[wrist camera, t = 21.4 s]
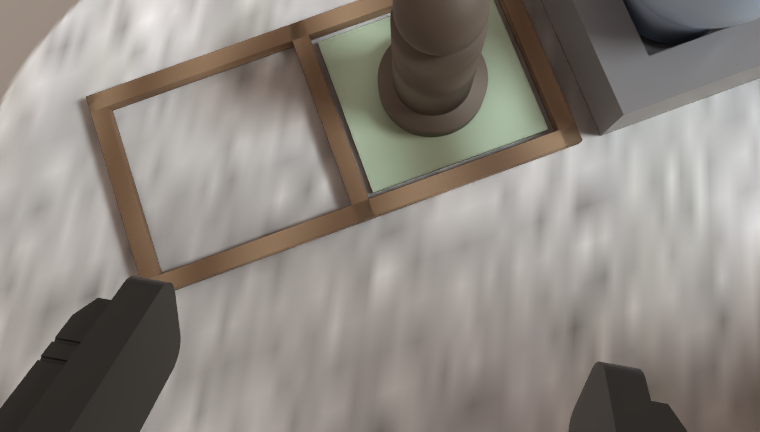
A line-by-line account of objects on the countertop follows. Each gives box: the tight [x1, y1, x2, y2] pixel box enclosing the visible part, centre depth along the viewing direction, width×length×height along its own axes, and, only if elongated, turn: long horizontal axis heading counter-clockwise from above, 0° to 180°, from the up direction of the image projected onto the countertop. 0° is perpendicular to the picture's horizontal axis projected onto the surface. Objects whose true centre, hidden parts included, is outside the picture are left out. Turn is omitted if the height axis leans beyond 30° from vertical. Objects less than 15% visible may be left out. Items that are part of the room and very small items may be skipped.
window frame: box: [86, 0, 582, 290], centre depth 29 cm, size 21×10×1 cm, turn 110°
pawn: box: [378, 0, 490, 137], centre depth 25 cm, size 5×5×9 cm
